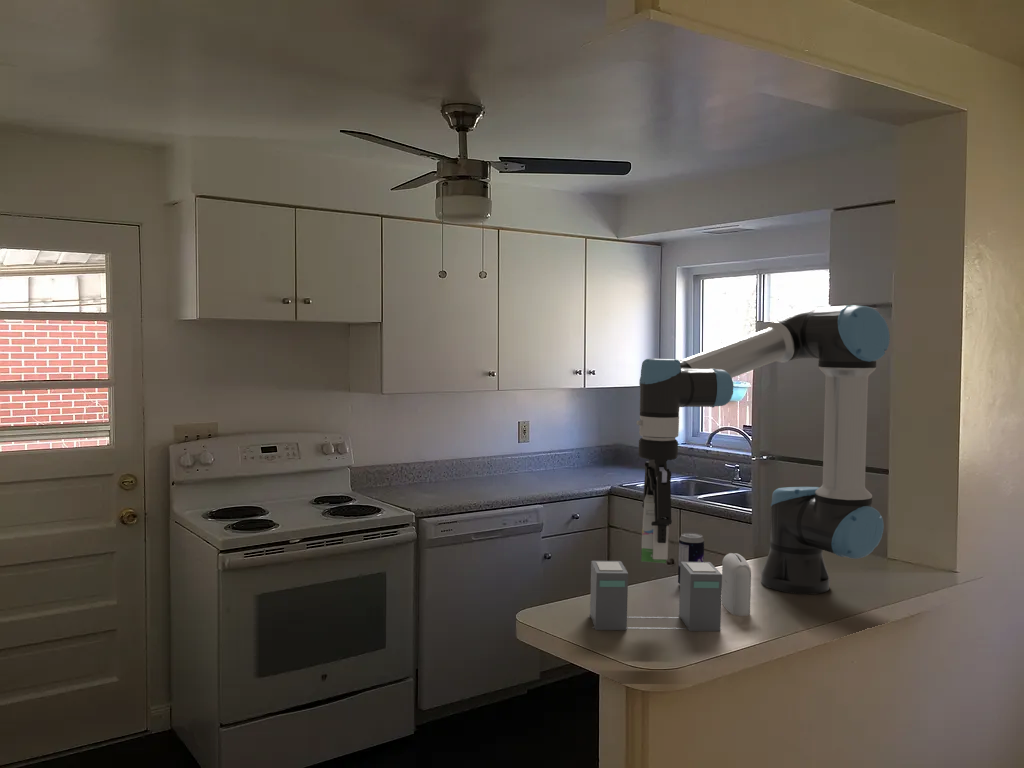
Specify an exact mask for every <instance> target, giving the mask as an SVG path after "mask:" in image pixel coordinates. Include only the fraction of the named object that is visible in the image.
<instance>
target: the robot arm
mask: <svg viewBox="0 0 1024 768" xmlns="http://www.w3.org/2000/svg"><path fill="white" fill-rule="evenodd" d="M765 325H766V326H765V327H764V328H763V329H761V330H760V331H757V332H754V333H752V334H748V335H745V336H743V337H740V338H738V339H735V340H732V341H729V342H726V343H724V344H721V345H719V346H716V347H714V348H711V349H708V350H704V351H702V352H700V353H696V354H695V355H694V354H693V355H691V356H688V357H686V358H682V359H680V360H679V359H677V358H646V359H644V360H643V361H642V364H641V368H640V376H639V384H638V385H639V389H640V390H639V419H640V420H636V425H637V426H639V436H641V438H639V439H638V457H640V458H641V459H644V460H648V461H645V462H644V480H643V481H644V483H643V497H642V504H641V505H642V508H643V509H644V499H645V497H646V494H647V495H653V496H654V503H655V507H654V512H655V522H652V523H651V525H652V526H654V527H653V559H666V561H667V560H668V554H669V534H668V527H669V528H670V525H672V523H673V522H672V521H673V520H672V493H671V492H672V491H671V489H672V488H671V487H672V486H671V484H672V472H671V470H670V468H668V465H667V462H668V461H672V460H673V461H674V460H676V459H678V455H679V454H678V453H679V451H678V450H679V441H678V440H677V439H676V438H678V437H679V435H680V434H679V432H680V431H679V429H680V428H679V427H680V408H686V407H688V408H715V407H724V406H726V405H727V404H729V403H730V401H731V400H732V397H733V394H734V382H733V378H735V377H737V376H741V375H742V374H746V373H748V372H751V371H753V370H754V371H755V370H757V369H759V368H761V367H764V366H766V365H769V364H772V363H775V362H777V363H782V364H784V363H787V362H790V361H793V360H797V359H818V369H819V370H820V371H821V373H822V374H824V376H825V383H824V384H825V387H824V388H825V389H824V417H823V418H824V421H823V422H824V425H823V457H822V458H823V461H822V462H823V463H822V484H821V486H820V487H819V486H788V487H778V488H776V489H775V490H774V491H773V492H772V494H771V503H770V534H769V535H770V536H769V537H770V542H769V543H770V547H769V553H768V555H767V557H766V559H765V563H764V565H763V568H762V570H761V577H760V578H761V579H760V580H761V581H760V582H761V584H762V585H763V586H765V587H766V588H769V589H771V590H775V591H778V592H779V591H780V592H784V593H787V594H788V593H790V594H799V595H815V594H823V593H826V592H828V591H829V590H830V581H831V580H830V576H829V573H828V569H827V566H826V565H827V564H826V562H825V559H824V555H823V554H824V553H823V551H825V552H829V553H831V554H834V555H836V556H837V557H841V558H849V559H852V560H853V559H856V560H857V559H862V558H865V557H867V556H869V555H870V554H872V552H874V549H876V548H877V547H878V545H879V544H880V542H881V540H882V537H883V533H884V528H885V525H884V518H883V516H882V515H881V512H880V511H879V510H877V509H876V508H874V507H873V494H872V493H871V492H870V491H869V490H868V489H867V488H866V466H867V465H866V459H867V458H866V457H867V426H868V425H867V423H868V391H869V377H870V375H871V374H872V373H874V372H875V370H877V361H878V360H880V359H881V358H883V356H885V354H886V351H888V349H889V346H890V331H889V326H888V323H887V321H886V319H885V317H883V316H882V315H881V313H880V312H879V311H878V310H877V309H875V308H873V307H871V306H867V305H855V304H851V305H834V306H814V307H810V308H805V309H801V310H799V311H797V312H794V313H792V314H789V315H787V316H784V317H781V318H779V319H776V320H774V321H771V322H769V323H767V324H765ZM661 517H665V518H661Z"/></svg>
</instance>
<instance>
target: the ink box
mask: <svg viewBox="0 0 1024 768" xmlns="http://www.w3.org/2000/svg"><path fill="white" fill-rule="evenodd" d="M654 507H655V503H654V496H653V495H647V494H646V497H645V499H644V508H643V511H642V512H643V513H642V514H643V515H642V529H641V552H640V553H641V556H640V562H641V563H643V562H645V563H655V564H656V563H657V564H659V563H660V564H667V559H653V527H654V526H652V525H651V523H652V522H655V512H654ZM661 518H665V517H661ZM669 531H670V526H669V527H668V535H669V534H670V533H669Z"/></svg>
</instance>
